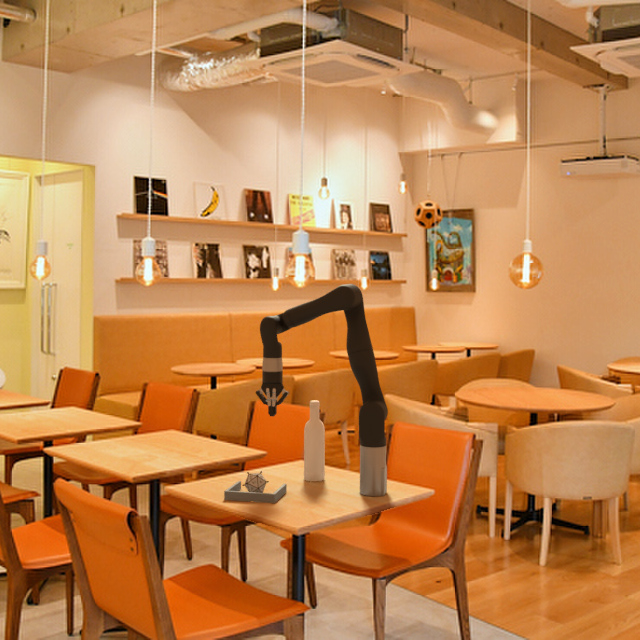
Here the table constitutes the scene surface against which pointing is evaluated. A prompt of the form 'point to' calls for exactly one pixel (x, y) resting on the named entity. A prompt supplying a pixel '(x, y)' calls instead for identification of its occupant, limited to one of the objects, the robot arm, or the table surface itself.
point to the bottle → (314, 445)
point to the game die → (255, 482)
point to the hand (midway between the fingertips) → (272, 416)
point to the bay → (253, 494)
